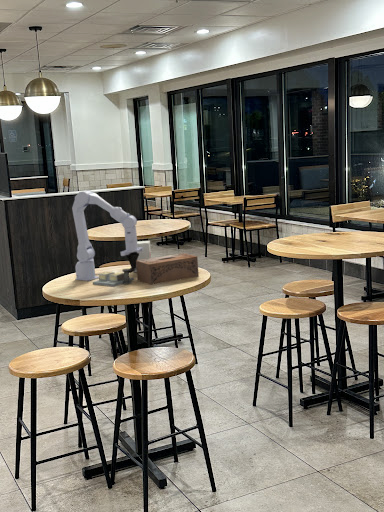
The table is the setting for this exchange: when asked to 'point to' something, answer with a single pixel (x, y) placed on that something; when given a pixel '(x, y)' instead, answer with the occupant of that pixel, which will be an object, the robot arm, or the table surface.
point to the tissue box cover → (167, 268)
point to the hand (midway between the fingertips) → (133, 268)
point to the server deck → (110, 283)
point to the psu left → (105, 276)
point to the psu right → (116, 277)
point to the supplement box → (144, 250)
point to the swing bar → (130, 269)
